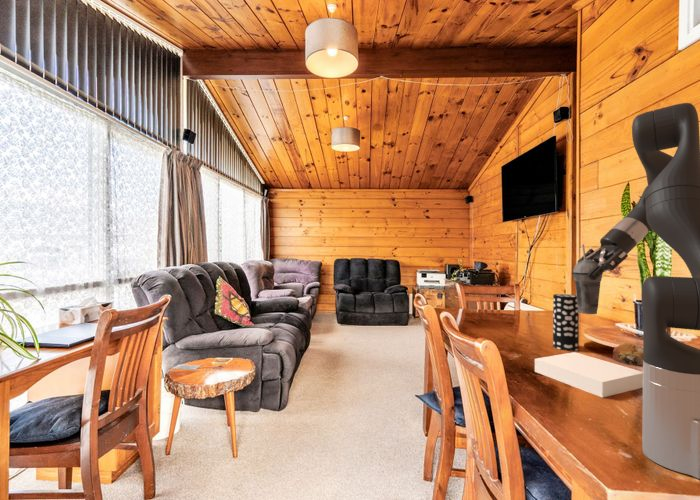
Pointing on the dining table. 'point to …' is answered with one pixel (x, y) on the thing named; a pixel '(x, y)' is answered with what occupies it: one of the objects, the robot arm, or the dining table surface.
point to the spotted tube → (565, 322)
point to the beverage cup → (586, 286)
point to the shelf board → (590, 373)
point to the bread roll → (629, 354)
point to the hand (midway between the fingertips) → (582, 276)
